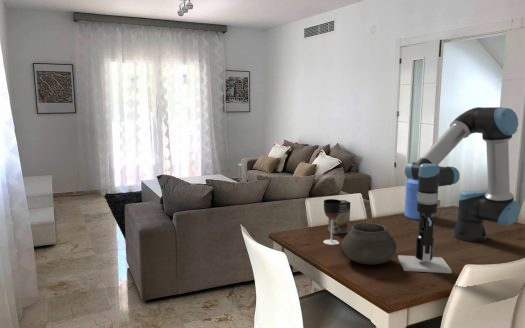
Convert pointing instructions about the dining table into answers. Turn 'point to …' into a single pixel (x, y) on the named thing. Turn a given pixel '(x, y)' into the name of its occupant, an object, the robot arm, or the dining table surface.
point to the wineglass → (332, 215)
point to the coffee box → (341, 219)
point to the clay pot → (369, 244)
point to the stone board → (424, 264)
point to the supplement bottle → (420, 247)
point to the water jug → (412, 200)
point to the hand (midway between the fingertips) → (424, 257)
